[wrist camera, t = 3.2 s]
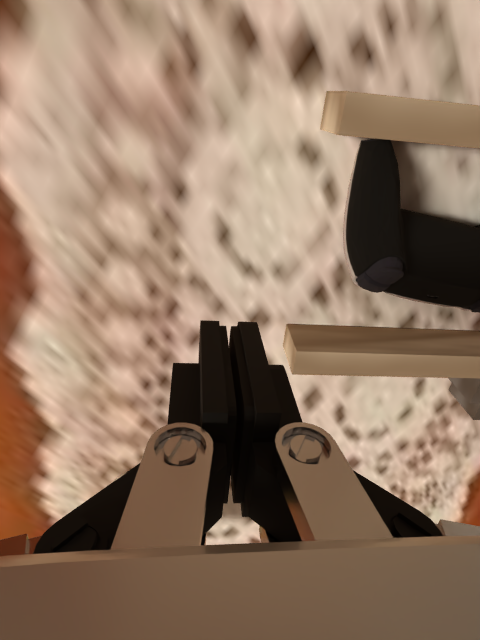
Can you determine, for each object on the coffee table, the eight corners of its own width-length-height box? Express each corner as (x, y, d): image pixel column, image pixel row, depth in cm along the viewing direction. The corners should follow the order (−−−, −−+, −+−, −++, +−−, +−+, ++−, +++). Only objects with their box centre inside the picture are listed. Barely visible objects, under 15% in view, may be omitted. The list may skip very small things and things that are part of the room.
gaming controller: (328, 176, 23) (320, 292, 21) (368, 121, 18) (364, 259, 17) (488, 217, 25) (495, 325, 23) (559, 175, 20) (574, 303, 19)
